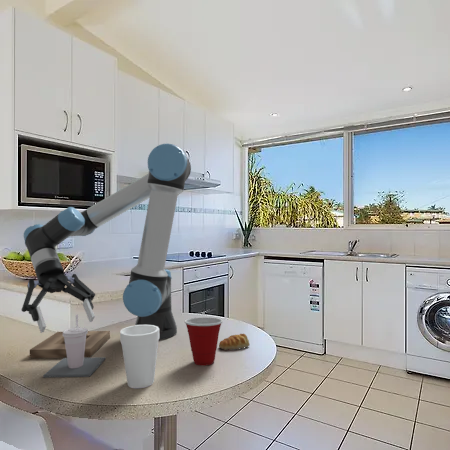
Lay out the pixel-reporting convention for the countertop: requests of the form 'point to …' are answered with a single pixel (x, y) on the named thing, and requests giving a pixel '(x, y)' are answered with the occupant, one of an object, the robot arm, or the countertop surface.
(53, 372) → the rubber mat
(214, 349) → the plastic cup
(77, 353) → the smoothie
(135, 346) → the foam cup
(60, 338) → the holder block
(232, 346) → the pastry
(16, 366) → the countertop surface
